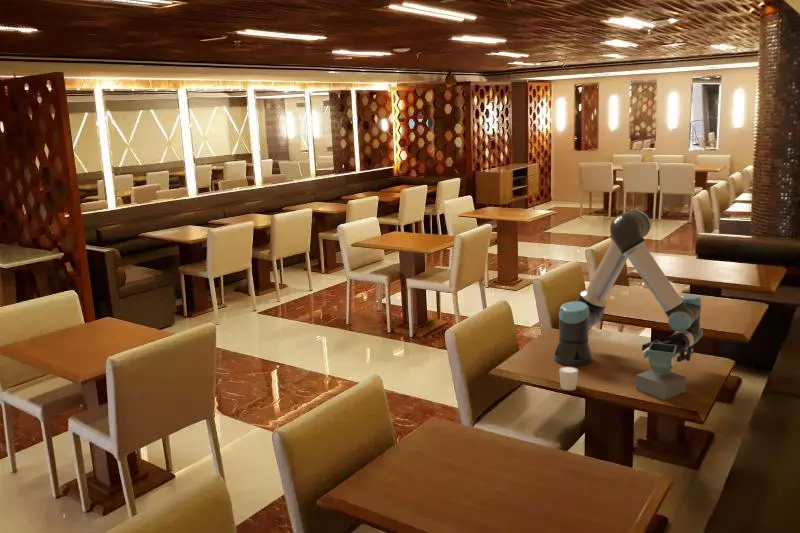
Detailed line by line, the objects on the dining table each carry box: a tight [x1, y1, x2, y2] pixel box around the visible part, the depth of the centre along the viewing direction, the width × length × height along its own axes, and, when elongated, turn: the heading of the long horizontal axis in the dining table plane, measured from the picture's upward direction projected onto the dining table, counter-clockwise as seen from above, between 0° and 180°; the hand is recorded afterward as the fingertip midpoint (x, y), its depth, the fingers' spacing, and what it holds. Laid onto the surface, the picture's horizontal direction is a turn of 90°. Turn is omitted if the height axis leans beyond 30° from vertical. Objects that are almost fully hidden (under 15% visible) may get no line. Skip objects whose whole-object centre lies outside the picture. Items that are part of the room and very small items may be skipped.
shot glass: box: [558, 366, 579, 391], centre depth 247 cm, size 7×7×7 cm
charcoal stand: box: [635, 368, 687, 401], centre depth 242 cm, size 12×12×6 cm
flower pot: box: [648, 343, 677, 374], centre depth 240 cm, size 9×9×9 cm
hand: (657, 358), depth 236 cm, fingers closed on flower pot, 10 cm apart
